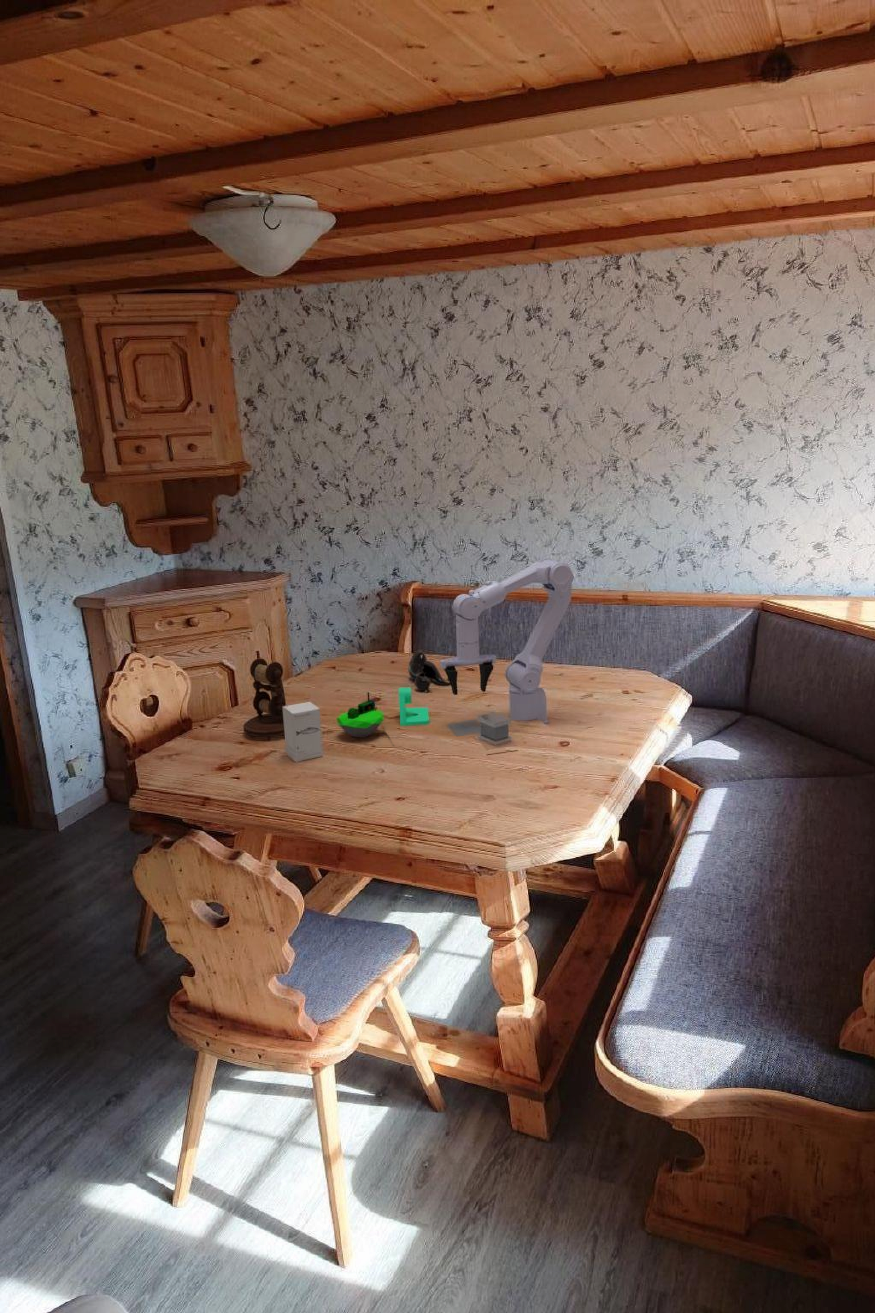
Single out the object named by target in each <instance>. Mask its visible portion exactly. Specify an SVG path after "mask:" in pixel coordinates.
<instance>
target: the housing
mask: <svg viewBox="0 0 875 1313" xmlns="http://www.w3.org/2000/svg"><path fill="white" fill-rule="evenodd" d="M477 722H479V725H480V726H481V733H477V736H478V739H479V740H481V741H484V742H486V743H488V744H491V745H493V746H495V747H496V746H499V745H502V744H506V743H509V742H511V739H512V736H509V724H512V719H511V718H510V717H508V716H505V715H501V714H499V713H497V712H494V711H493V712H490V713H484V714H481V715H477Z"/></svg>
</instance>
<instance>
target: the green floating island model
mask: <svg viewBox="0 0 875 1313" xmlns="http://www.w3.org/2000/svg"><path fill="white" fill-rule="evenodd" d="M366 693H367V700H365V701H363V702H361V703H358V704H357V708H356V707H350V708H348V710H347V712H344V713H341V714H340V715H339V716H338V717H337V718H336V721H337V723H338V725H339V727H340V728H341V729H342V730H344V732H345V733H346V734H347V735H348V736H351V737H355V738H359V739H363V738H365V737H368V736H371V735H373V734H374V733H375V732H376V731H377V729H378V728H379V727H380V726H381V724H382V723H383V721H384V713H383V712H382V711H380V710H379V709H378V707H377V706H376V702H375V700H374V699H370V692H369V691H368V692H366ZM377 709H378V710H377Z"/></svg>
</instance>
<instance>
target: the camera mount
mask: <svg viewBox="0 0 875 1313" xmlns="http://www.w3.org/2000/svg"><path fill="white" fill-rule="evenodd" d="M412 700H413V699H412V687H410V686H409V687H398V704H399V723H400V727H405V726H406V727H407V726H422V725H423V726H424V725H429V724H430V716H429V707H424V706H421V707H420V706H419V707H408V708H407V707H406V706H407V705H408V704H409V705H410V704H412V702H413V701H412ZM406 704H407V705H406Z"/></svg>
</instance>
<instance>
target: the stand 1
mask: <svg viewBox="0 0 875 1313" xmlns="http://www.w3.org/2000/svg"><path fill="white" fill-rule="evenodd" d="M445 725H446V727H447V728H449V729H450V731H451V732H452V733H453V734H454V735H455V736H456V737H461V736H469V735H475V734H477V735H478V734H481V725H480V723H478V721H476V720H475V719H474V720H467V721H466V720H465V721H459V722H451V723H446V724H445Z"/></svg>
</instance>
